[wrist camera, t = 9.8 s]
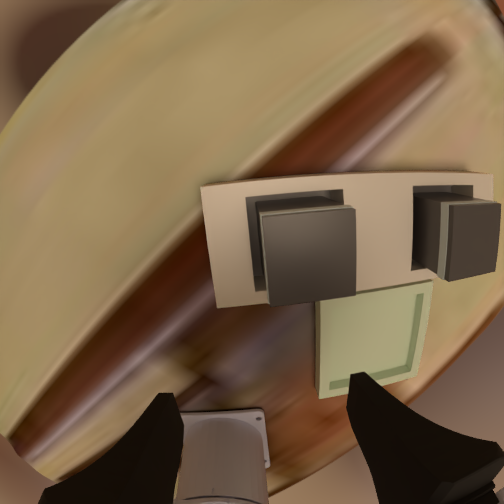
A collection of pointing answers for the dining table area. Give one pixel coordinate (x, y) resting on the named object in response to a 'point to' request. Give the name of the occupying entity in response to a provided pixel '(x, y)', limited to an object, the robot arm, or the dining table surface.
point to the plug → (455, 234)
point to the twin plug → (307, 249)
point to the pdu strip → (338, 189)
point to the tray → (371, 336)
